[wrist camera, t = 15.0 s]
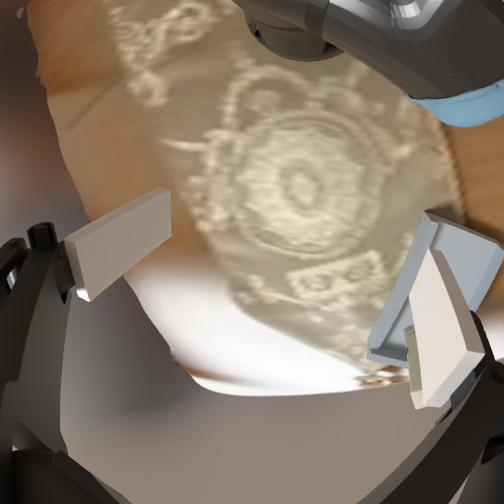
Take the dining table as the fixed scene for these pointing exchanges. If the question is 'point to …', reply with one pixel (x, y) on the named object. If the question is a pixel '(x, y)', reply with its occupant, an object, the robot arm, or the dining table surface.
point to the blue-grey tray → (398, 304)
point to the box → (414, 367)
